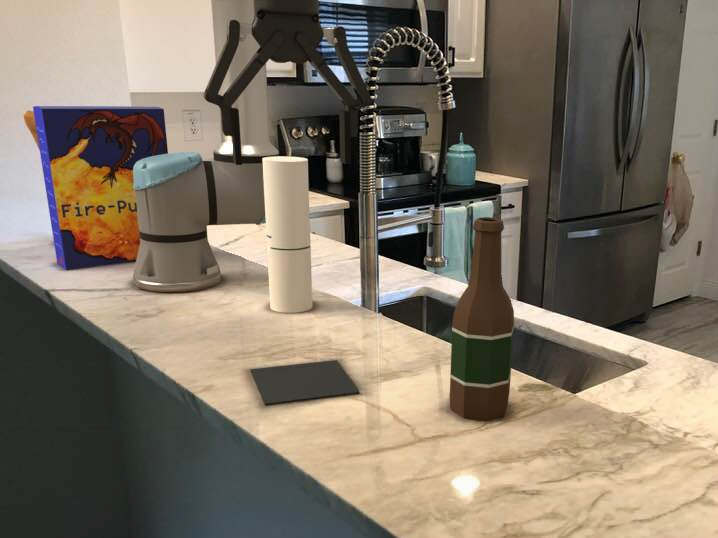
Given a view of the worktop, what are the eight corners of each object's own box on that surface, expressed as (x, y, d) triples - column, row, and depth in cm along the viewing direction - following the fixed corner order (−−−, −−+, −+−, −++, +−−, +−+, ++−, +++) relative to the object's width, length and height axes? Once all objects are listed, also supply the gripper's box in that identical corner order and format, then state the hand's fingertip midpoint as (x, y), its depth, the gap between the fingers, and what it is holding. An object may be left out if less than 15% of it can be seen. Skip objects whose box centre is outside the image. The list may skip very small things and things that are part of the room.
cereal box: (66, 269, 147) (41, 107, 137) (57, 263, 151) (32, 104, 141) (178, 256, 161) (163, 107, 150) (167, 250, 165) (152, 105, 155)
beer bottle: (520, 405, 98) (534, 219, 89) (490, 427, 91) (502, 228, 83) (468, 391, 101) (477, 210, 93) (436, 411, 95) (442, 219, 86)
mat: (250, 371, 104) (250, 369, 104) (336, 361, 109) (336, 360, 109) (265, 405, 94) (265, 403, 94) (359, 393, 99) (359, 391, 99)
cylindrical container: (300, 298, 137) (295, 155, 128) (319, 308, 132) (315, 160, 123) (263, 304, 133) (254, 157, 124) (281, 315, 127) (274, 162, 119)
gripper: (172, -34, 81) (191, 168, 89) (396, -15, 91) (395, 166, 99) (169, -29, 88) (187, 159, 96) (379, -12, 97) (379, 158, 105)
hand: (293, 163), depth 97 cm, fingers open, 13 cm apart
